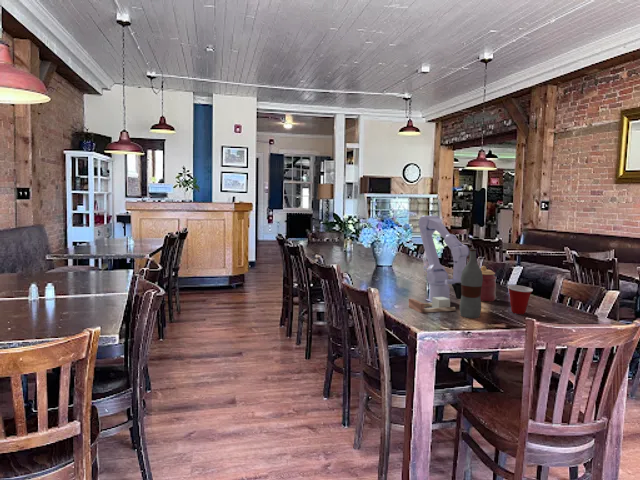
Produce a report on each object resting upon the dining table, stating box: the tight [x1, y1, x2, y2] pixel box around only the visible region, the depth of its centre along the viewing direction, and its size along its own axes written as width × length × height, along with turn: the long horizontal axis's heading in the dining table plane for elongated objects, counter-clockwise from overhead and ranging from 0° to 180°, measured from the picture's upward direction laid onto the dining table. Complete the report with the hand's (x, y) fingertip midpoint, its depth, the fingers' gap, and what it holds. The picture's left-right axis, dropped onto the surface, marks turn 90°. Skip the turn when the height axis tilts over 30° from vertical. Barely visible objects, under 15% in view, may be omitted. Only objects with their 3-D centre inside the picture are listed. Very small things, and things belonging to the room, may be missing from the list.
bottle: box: [459, 248, 483, 319], centre depth 208 cm, size 9×9×30 cm
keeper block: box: [431, 297, 451, 308], centre depth 223 cm, size 6×6×5 cm
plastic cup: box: [507, 284, 534, 315], centre depth 216 cm, size 11×11×12 cm
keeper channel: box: [408, 298, 456, 314], centre depth 222 cm, size 18×11×4 cm, turn 107°
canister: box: [480, 265, 497, 302], centre depth 245 cm, size 13×13×18 cm
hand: (458, 298), depth 225 cm, fingers closed
